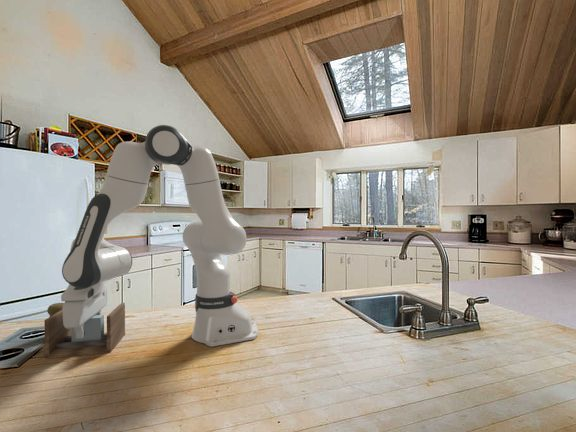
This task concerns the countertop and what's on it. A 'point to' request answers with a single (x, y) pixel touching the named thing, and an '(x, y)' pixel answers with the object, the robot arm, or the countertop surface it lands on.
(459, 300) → the countertop surface
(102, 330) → the door panel
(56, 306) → the cork
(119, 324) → the cabinet
